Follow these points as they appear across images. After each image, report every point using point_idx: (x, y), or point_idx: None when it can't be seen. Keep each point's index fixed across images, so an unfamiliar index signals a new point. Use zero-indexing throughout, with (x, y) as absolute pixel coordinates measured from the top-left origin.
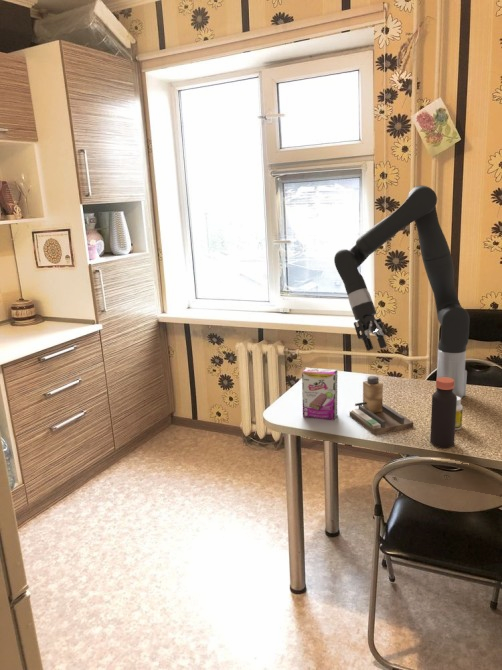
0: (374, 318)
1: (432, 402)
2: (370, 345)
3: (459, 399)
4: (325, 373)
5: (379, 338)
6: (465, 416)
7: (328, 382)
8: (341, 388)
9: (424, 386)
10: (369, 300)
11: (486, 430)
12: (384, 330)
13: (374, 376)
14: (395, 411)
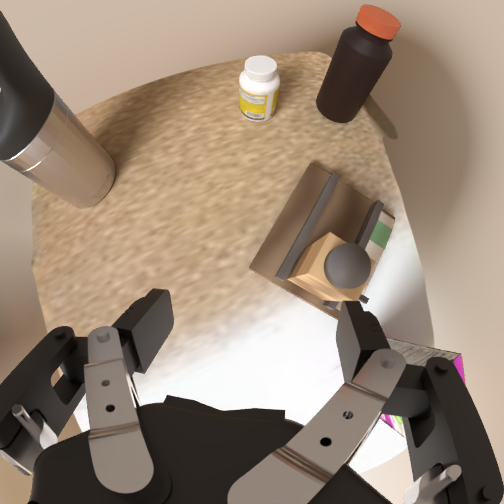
0: (49, 495)
1: (383, 68)
2: (363, 318)
3: (263, 56)
4: (463, 381)
5: (141, 353)
6: (191, 108)
7: None
8: None
9: (62, 251)
10: None
11: (236, 69)
12: (50, 344)
13: (333, 269)
14: (276, 223)
